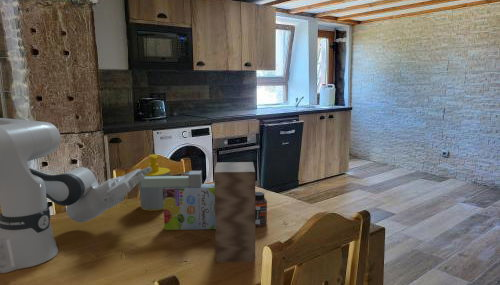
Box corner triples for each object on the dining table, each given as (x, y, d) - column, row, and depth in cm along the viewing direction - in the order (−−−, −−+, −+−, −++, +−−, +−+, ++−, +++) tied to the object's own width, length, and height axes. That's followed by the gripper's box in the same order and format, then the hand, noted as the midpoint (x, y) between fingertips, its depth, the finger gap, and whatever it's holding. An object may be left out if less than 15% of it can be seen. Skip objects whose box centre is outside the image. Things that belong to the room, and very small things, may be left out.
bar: (140, 188, 120) (139, 175, 119) (144, 184, 125) (143, 171, 124) (200, 187, 121) (200, 174, 120) (202, 183, 126) (201, 170, 125)
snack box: (226, 223, 128) (226, 182, 126) (226, 229, 123) (225, 187, 120) (167, 224, 128) (165, 183, 125) (163, 230, 122) (161, 188, 120)
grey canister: (143, 213, 138) (140, 159, 135) (135, 203, 150) (132, 154, 146) (176, 207, 145) (174, 156, 141) (166, 198, 156) (164, 151, 152)
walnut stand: (216, 262, 100) (214, 172, 96) (217, 243, 112) (216, 162, 108) (255, 261, 101) (255, 171, 97) (253, 242, 113) (252, 162, 108)
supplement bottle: (261, 228, 124) (261, 197, 122) (246, 225, 127) (246, 194, 125) (269, 222, 129) (270, 192, 127) (255, 219, 132) (255, 189, 130)
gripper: (95, 193, 111) (133, 171, 111) (117, 176, 132) (149, 157, 131) (107, 210, 112) (144, 188, 112) (126, 191, 133) (158, 172, 132)
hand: (147, 171), depth 122 cm, fingers open, 8 cm apart
